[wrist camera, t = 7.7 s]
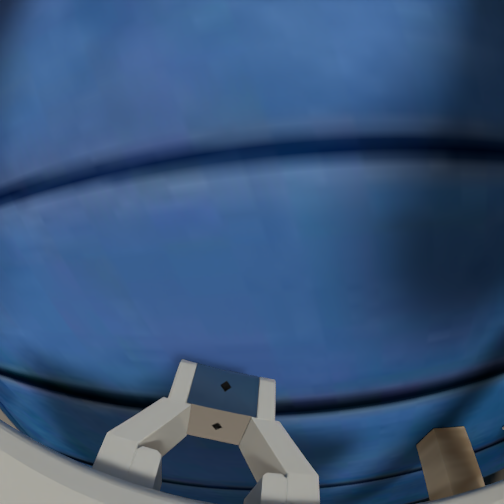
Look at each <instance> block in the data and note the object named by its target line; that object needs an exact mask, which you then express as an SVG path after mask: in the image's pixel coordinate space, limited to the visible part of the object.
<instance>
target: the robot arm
mask: <svg viewBox="0 0 504 504" xmlns="http://www.w3.org/2000/svg"><path fill="white" fill-rule="evenodd" d="M275 398H276V382H275V380H274V379H269V378H263V377H258V376H253V375H248V374H243V373H237V372H233V371H226V370H222V369H218V368H214V367H210V366H206V365H203V364H199V363H195V362H191V361H187V360H184V359H182V360H181V362H180V364H179V367H178V369H177V372H176V375H175V378H174V381H173V384H172V387H171V390H170V393H169V396H168V398H166V397H162V398H161V399H159V400H158V401H156V402H155V403H153V404H152V405H150V406H149V407H147V408H145V409H144V410H142V411H141V412H139V413H138V414H136V415H134V416H133V417H131V418H130V419H128V420H126V421H125V422H123V423H122V424H120V425H118V426H117V427H115V428H114V429H112V430H110V431H109V432H107V434H106V436H105V439H104V441H103V443H102V446H101V448H100V450H99V453H98V455H97V457H96V460H95V462H94V465H93V467H92V468H91V467H89V466H86V465H84V464H82V463H79V462H77V461H75V460H73V459H71V458H68V457H66V456H64V455H62V454H60V453H58V452H56V451H54V450H52V449H50V448H48V447H46V446H44V445H42V444H41V443H39V442H37V441H35V440H33V439H31V438H30V437H28V436H26V435H24V434H23V433H21V432H19V431H18V430H16V429H14V428H13V427H11V426H10V425H8V424H6V423H5V422H3V421H2V420H0V504H215V503H209V502H204V501H199V500H194V499H189V498H185V497H181V496H177V495H173V494H169V493H165V492H161V491H160V488H161V484H162V456H164V455H165V454H166V453H167V452H168V451H170V450H171V449H172V448H173V447H174V446H175V445H176V444H178V443H179V442H180V441H181V440H182V439H183V438H184V437H186V435H187V434H188V435H192V436H197V437H202V438H207V439H212V440H217V441H221V442H226V443H230V444H235V445H239V448H240V450H241V452H242V454H243V456H244V458H245V460H246V462H247V464H248V466H249V468H250V470H251V472H252V474H253V476H254V478H255V480H256V482H257V484H256V485H255V487H254V488H253V489H252V490H251V492H250V493H249V494H248V495H247V496H246V498H245V499H244V504H320V496H319V476H318V474H317V473H316V472H315V470H314V469H313V468H312V466H311V465H310V463H309V462H308V461H307V459H306V458H305V457H304V455H303V454H302V453H301V451H300V450H299V448H298V447H297V446H296V444H295V443H294V441H293V440H292V439H291V437H290V436H289V434H288V433H287V432H286V430H285V429H284V427H283V426H282V424H281V423H280V422H279V421H275ZM417 504H504V480H501V481H498V482H496V483H493V484H490V485H487V486H484V487H481V488H478V489H474V490H471V491H468V492H464V493H461V494H457V495H453V496H449V497H445V498H441V499H437V500H432V501H427V502H422V503H417Z"/></svg>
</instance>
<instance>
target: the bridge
mask: <svg viewBox="0 0 504 504" xmlns="http://www.w3.org/2000/svg"><path fill="white" fill-rule="evenodd" d="M416 446H417V450H418V454H419V458H420V461H421V465H422V469H423V473H424V477H425V481H426V486H427V490H428V494H429V499H430V501H432V500H437V499H441V498H445V497H449V496H453V495H457V494H461V493H464V492H468V491H471V490H474V489H478V488H481V487H484V486H485V484H484V481H483V478H482V475H481V472H480V469H479V466H478V463H477V460H476V457H475V454H474V452H473V449H472V446H471V443H470V441H469V438H468V435H467V433H466V430H465V428H464V426H461V427H450V428H436V429H432V430H431V431H430V432H429V433H428V434H427V435H426V436H425V437H424V438H423V439H422V440H421V441H420V442H419V443H418V444H417V445H416Z"/></svg>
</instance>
